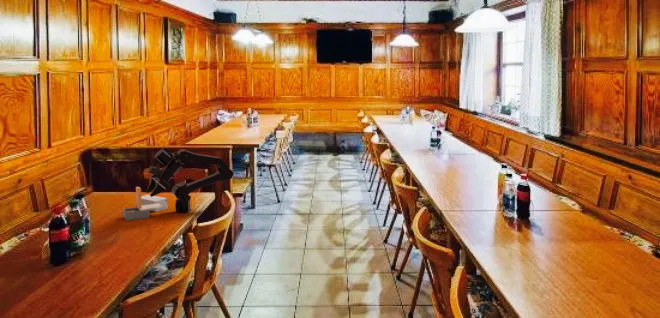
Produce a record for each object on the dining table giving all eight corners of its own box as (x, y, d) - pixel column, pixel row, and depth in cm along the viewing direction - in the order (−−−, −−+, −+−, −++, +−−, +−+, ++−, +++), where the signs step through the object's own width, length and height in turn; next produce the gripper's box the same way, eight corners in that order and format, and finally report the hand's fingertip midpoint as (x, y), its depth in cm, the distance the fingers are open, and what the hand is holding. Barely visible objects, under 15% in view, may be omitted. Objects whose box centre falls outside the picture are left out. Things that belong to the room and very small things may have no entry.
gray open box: (146, 213, 250) (146, 206, 250) (149, 217, 244) (149, 209, 243) (123, 216, 244) (122, 209, 244) (126, 220, 238) (125, 212, 237)
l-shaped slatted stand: (159, 204, 253) (158, 184, 251) (163, 208, 246) (162, 187, 244) (136, 207, 247) (135, 186, 245) (139, 210, 240) (138, 189, 239)
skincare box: (135, 207, 261) (155, 212, 254) (135, 196, 260) (154, 201, 252) (149, 204, 268) (168, 209, 261) (148, 193, 267) (167, 198, 260)
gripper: (153, 157, 253) (131, 180, 249) (162, 163, 238) (139, 188, 234) (169, 171, 259) (149, 194, 255) (179, 177, 243) (157, 202, 239)
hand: (148, 194), depth 245 cm, fingers open, 9 cm apart
